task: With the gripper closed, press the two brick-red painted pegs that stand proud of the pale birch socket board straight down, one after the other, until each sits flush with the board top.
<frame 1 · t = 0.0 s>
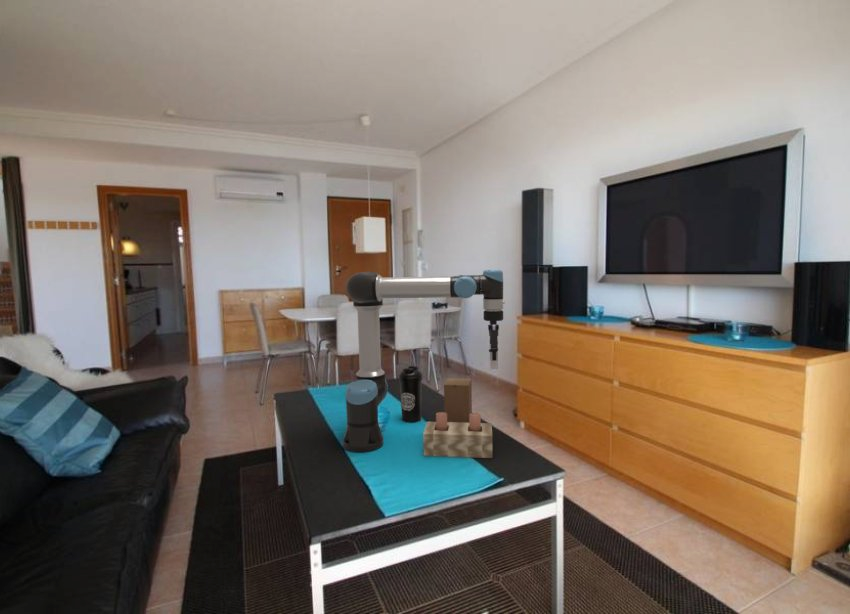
hand: (493, 364, 169), 28 cm above the table, fingers open, 13 cm apart
peg 1: (441, 424, 159), point 9 cm above the table, slide at 5.0 cm
socket board: (458, 449, 159), on the table
wooden block: (458, 429, 179), on the table
water bottle: (411, 419, 191), on the table
peg 2: (474, 425, 157), point 9 cm above the table, slide at 5.0 cm
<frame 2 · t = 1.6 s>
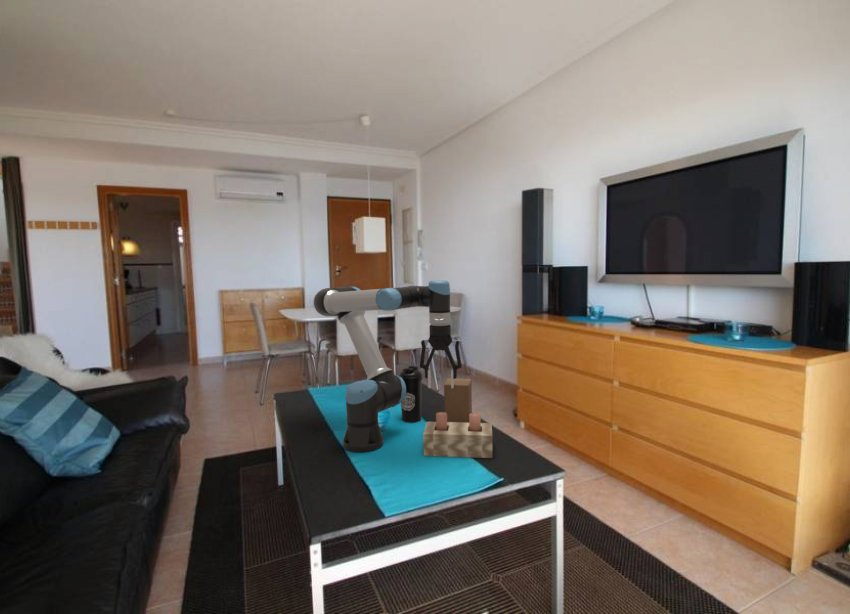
hand: (441, 387, 157), 23 cm above the table, fingers open, 8 cm apart
nothing on the table moved.
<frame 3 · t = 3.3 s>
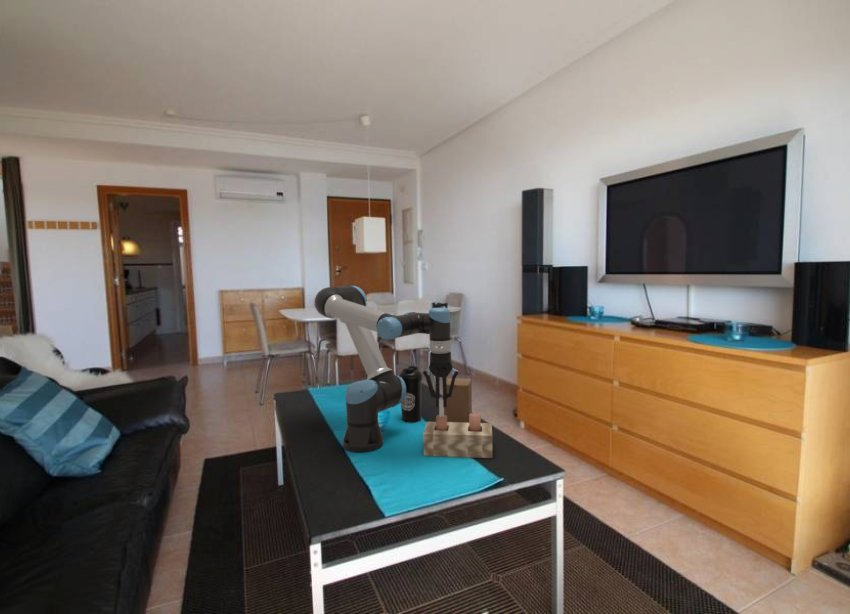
hand: (441, 415, 158), 13 cm above the table, fingers closed
peg 1: (441, 427, 159), point 8 cm above the table, slide at 4.1 cm, touching gripper
everything else where it was.
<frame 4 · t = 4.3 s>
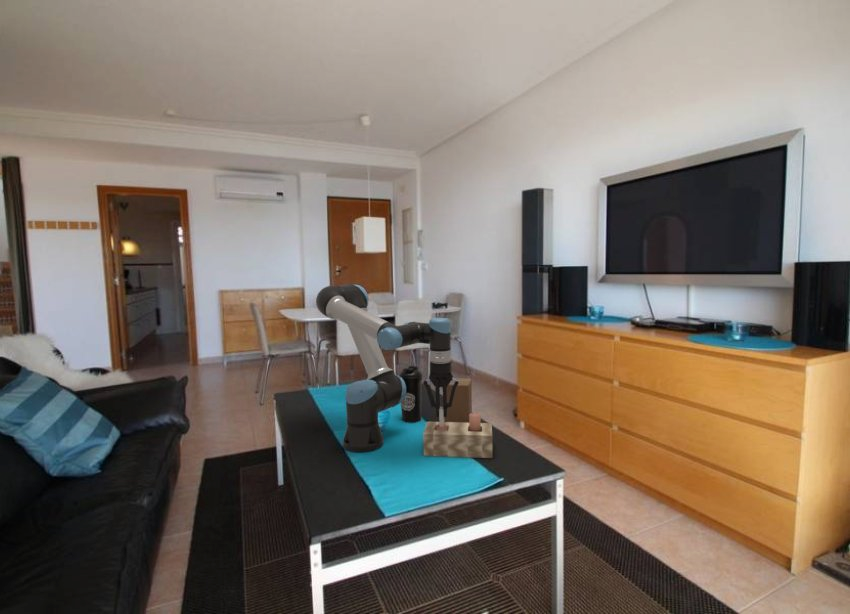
hand: (441, 425, 159), 9 cm above the table, fingers closed
peg 1: (441, 436, 159), point 5 cm above the table, slide at 0.5 cm, touching gripper
everything else where it was.
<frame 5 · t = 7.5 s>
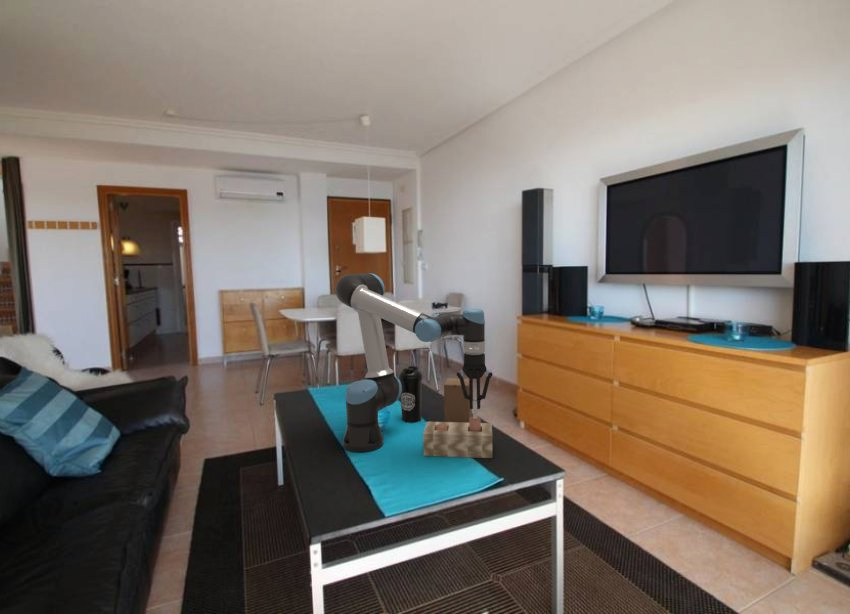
hand: (475, 417, 157), 12 cm above the table, fingers closed
peg 1: (441, 436, 159), point 5 cm above the table, slide at 0.5 cm
peg 2: (475, 429, 157), point 8 cm above the table, slide at 3.7 cm, touching gripper
everything else where it was.
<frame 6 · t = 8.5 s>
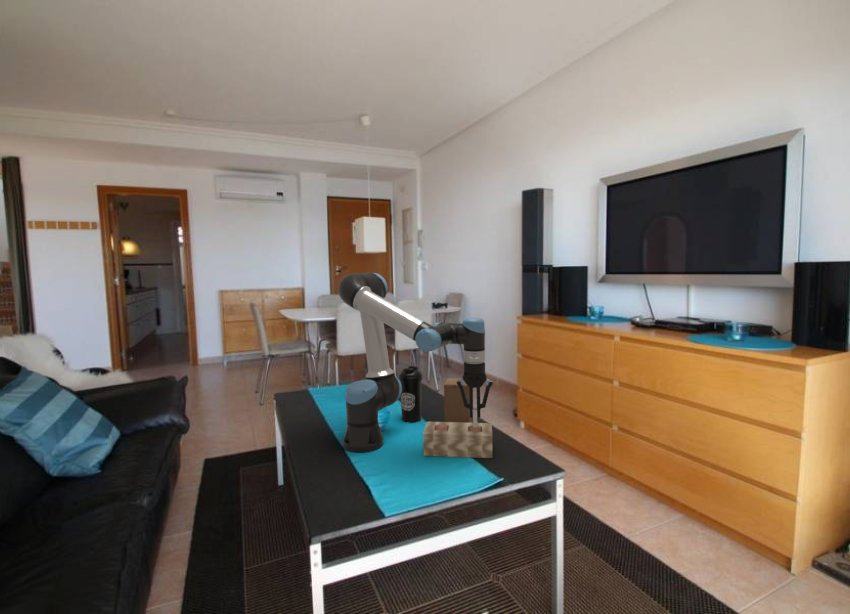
hand: (475, 426, 157), 9 cm above the table, fingers closed
peg 2: (475, 437, 157), point 5 cm above the table, slide at 0.5 cm, touching gripper
everything else where it was.
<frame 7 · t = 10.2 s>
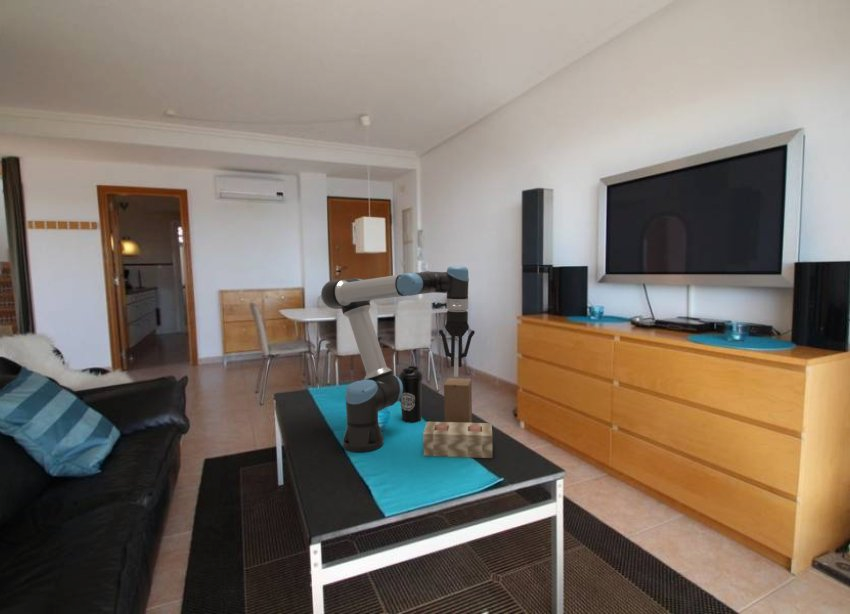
hand: (456, 375, 157), 27 cm above the table, fingers closed
peg 2: (475, 437, 157), point 5 cm above the table, slide at 0.5 cm
everything else where it was.
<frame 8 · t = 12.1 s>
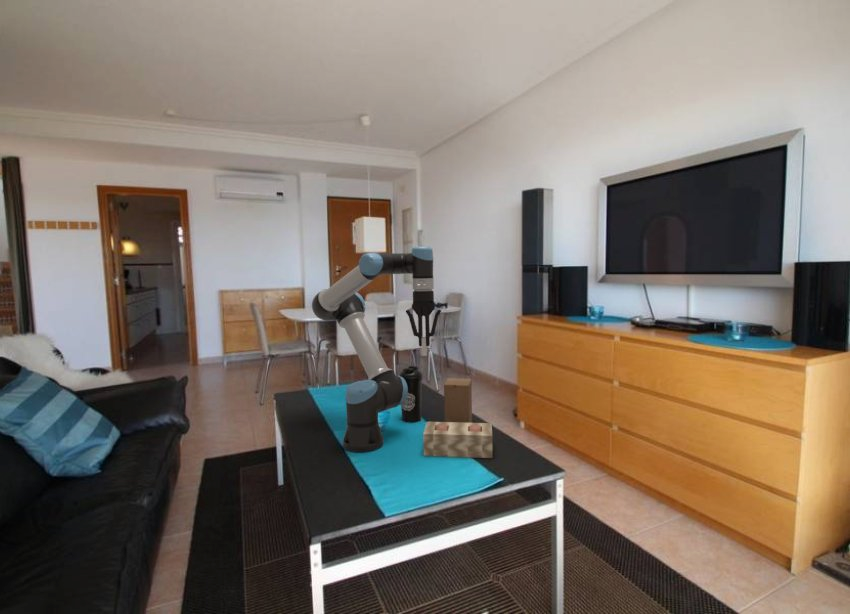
hand: (424, 355, 159), 34 cm above the table, fingers closed
nothing on the table moved.
at the end: peg 1 slide at 0.5 cm; peg 2 slide at 0.5 cm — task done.
